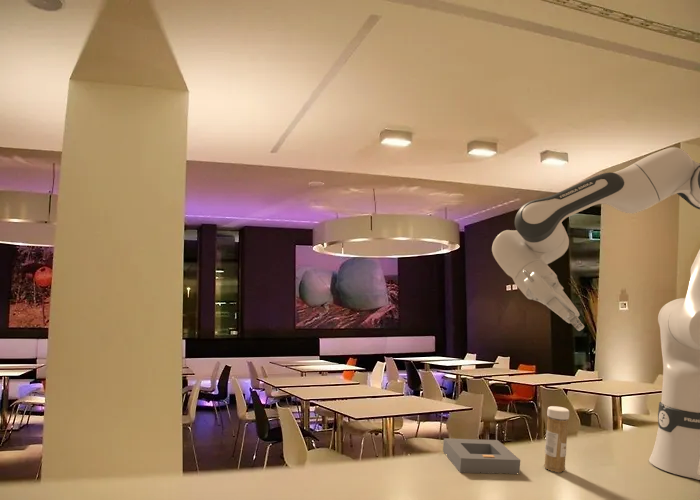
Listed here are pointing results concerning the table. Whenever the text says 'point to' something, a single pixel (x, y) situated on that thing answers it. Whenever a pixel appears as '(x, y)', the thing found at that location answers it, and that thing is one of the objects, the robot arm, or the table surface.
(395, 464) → the table surface
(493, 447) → the square frame
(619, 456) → the table surface
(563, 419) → the sprinkles bottle
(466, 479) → the table surface
